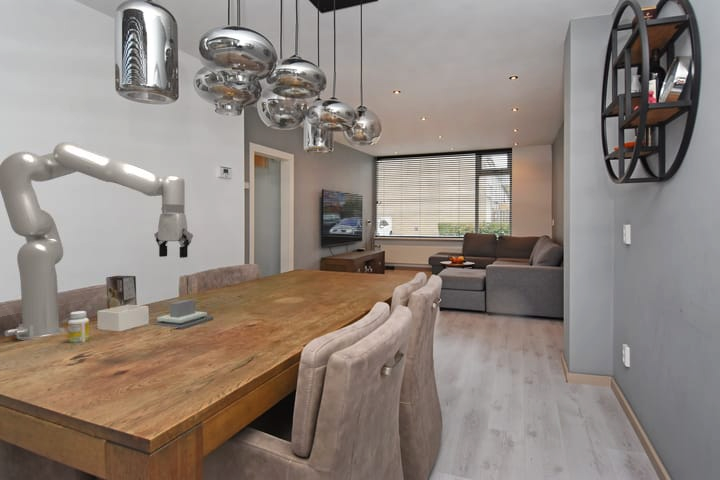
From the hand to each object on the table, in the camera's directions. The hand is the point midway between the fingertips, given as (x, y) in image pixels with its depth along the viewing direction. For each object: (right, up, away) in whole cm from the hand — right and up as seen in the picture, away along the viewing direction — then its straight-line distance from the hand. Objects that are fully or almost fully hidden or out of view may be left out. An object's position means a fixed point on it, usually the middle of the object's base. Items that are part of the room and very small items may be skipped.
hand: (173, 256), depth 150 cm
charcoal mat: (+3, -25, +1) cm, 25 cm away
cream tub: (-15, -25, -6) cm, 30 cm away
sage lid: (+3, -24, +1) cm, 24 cm away
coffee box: (-26, -25, +13) cm, 39 cm away
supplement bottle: (-18, -26, -24) cm, 40 cm away
